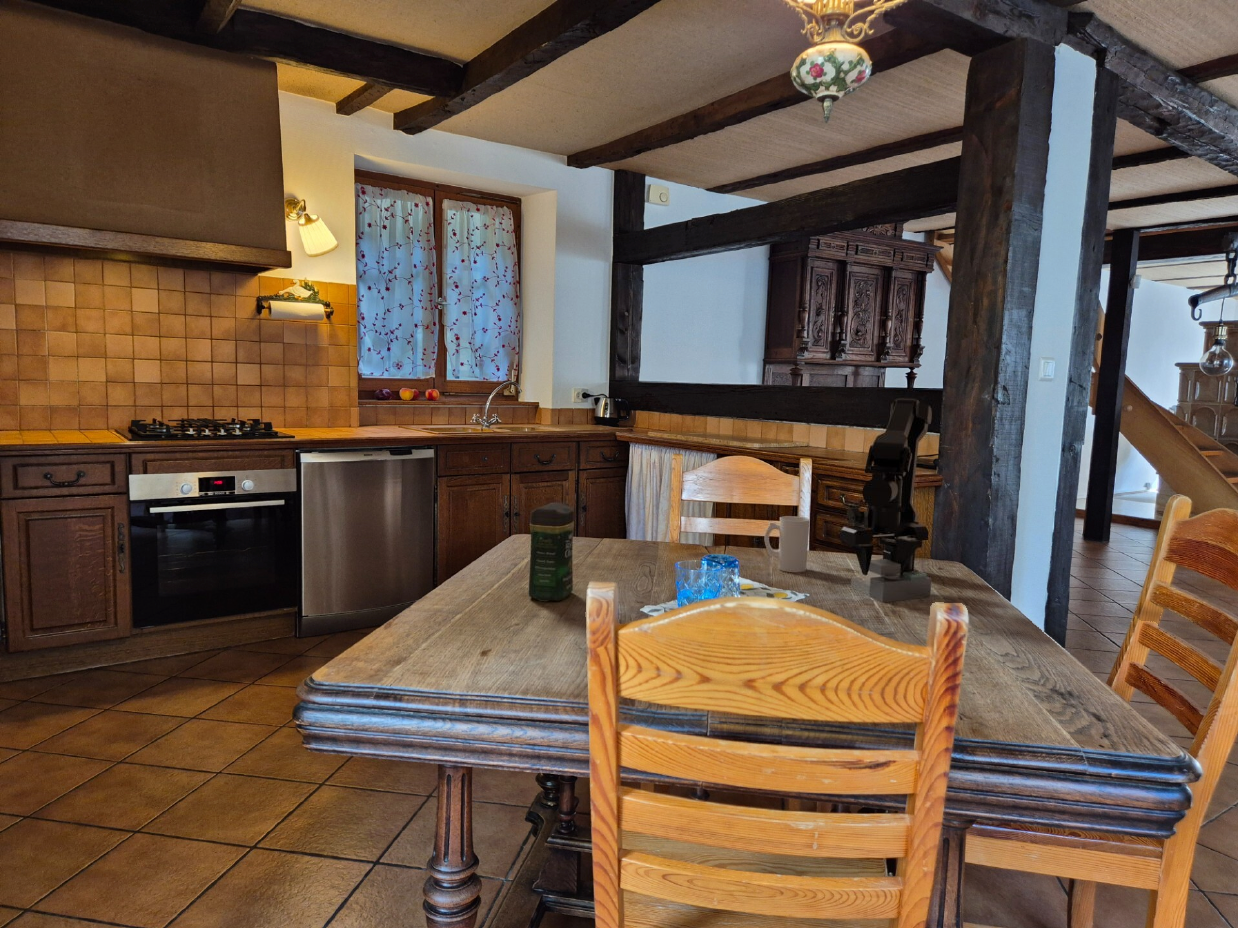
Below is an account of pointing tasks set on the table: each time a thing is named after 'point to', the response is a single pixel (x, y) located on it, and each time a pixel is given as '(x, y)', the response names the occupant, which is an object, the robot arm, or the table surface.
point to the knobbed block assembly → (895, 586)
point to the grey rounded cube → (882, 568)
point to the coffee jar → (551, 552)
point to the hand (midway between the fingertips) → (882, 573)
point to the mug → (790, 543)
